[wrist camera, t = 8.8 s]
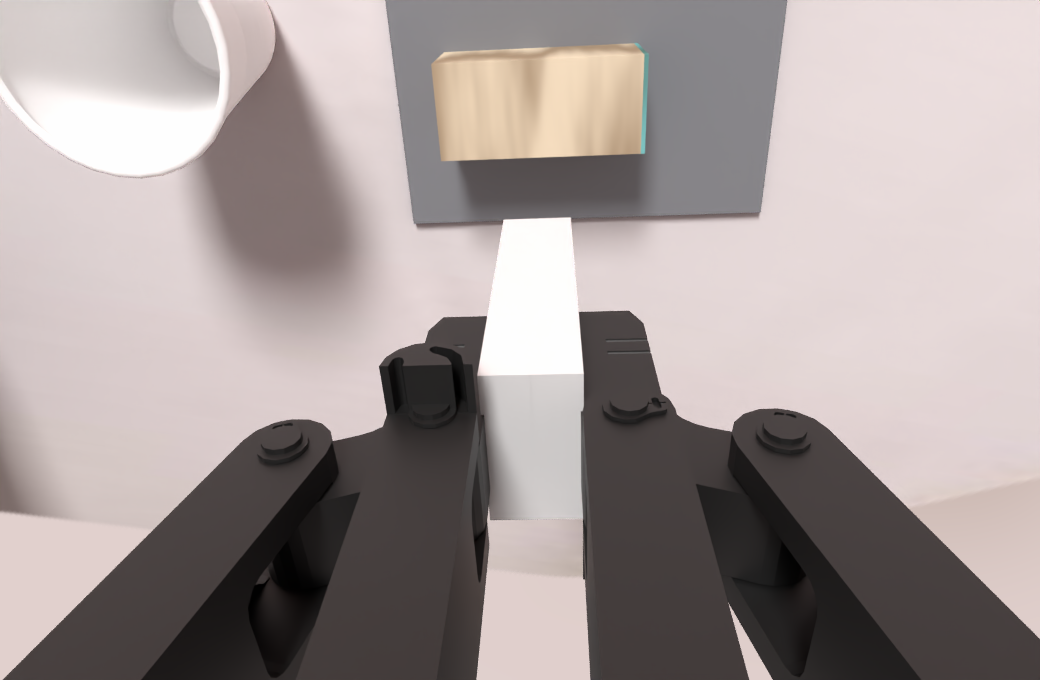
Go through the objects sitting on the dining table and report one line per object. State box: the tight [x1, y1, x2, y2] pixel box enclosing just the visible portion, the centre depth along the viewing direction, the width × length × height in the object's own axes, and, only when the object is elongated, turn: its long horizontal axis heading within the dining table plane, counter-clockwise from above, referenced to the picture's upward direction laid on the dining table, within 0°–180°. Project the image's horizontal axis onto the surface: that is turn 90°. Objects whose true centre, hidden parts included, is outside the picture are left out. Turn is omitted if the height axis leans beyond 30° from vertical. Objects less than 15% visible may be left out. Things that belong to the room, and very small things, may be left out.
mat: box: [385, 0, 787, 224], centre depth 36 cm, size 20×18×1 cm
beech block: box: [431, 43, 649, 161], centre depth 35 cm, size 4×4×10 cm
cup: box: [0, 0, 275, 178], centre depth 31 cm, size 10×10×11 cm
